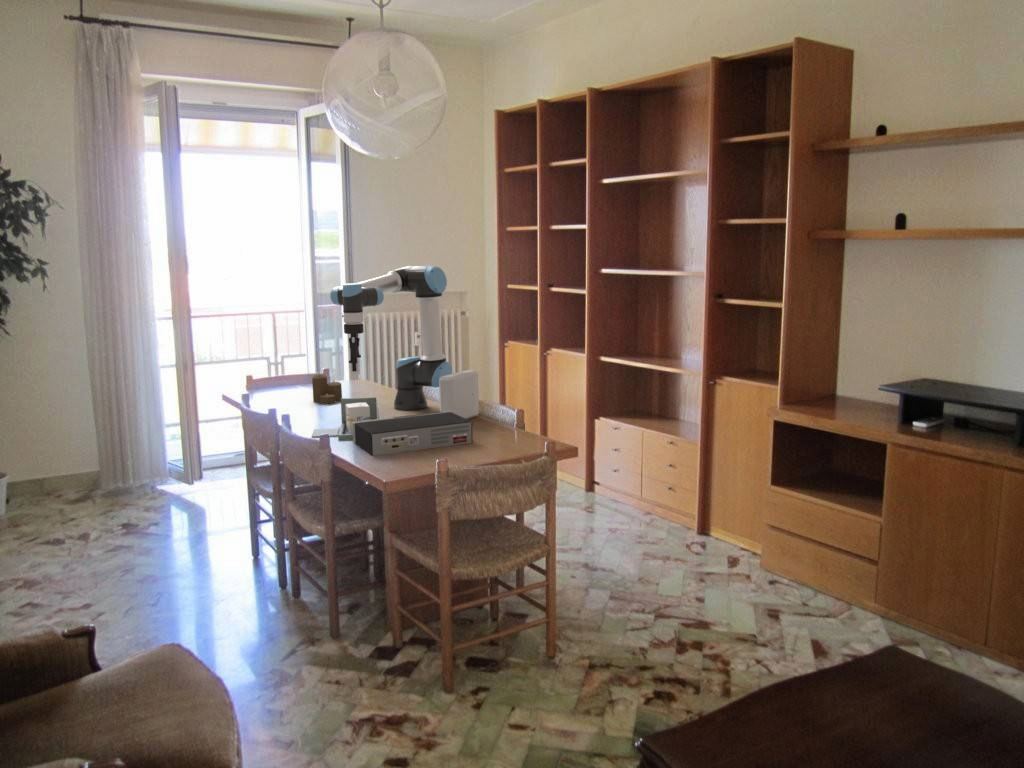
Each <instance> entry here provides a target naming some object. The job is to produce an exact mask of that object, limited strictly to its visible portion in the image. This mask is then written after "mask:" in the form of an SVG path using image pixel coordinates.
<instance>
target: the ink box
mask: <svg viewBox="0 0 1024 768" xmlns="http://www.w3.org/2000/svg"><path fill="white" fill-rule="evenodd" d="M345 406H346V427H347V428H346V434H353V422H356V421H365V420H370V407H369V406H368V404H367V403H366V402H365V403H352V404H345Z"/></svg>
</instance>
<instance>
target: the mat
mask: <svg viewBox="0 0 1024 768" xmlns="http://www.w3.org/2000/svg"><path fill="white" fill-rule="evenodd" d="M339 431H340V428H338V427H337V428H336V427H334V428H317V429H316V428H314V429H313V432H312V433H311V438H320V437H319V436H320V435H321V434H323V433H328V434H329V435H330V437H329V438H332V437H333V438H335V437H337V438H338V434H339Z"/></svg>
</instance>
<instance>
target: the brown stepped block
mask: <svg viewBox="0 0 1024 768" xmlns="http://www.w3.org/2000/svg"><path fill="white" fill-rule="evenodd" d="M311 380H312V381H311V383H312V399H313V403H319V402H320V403H319V404H320V405H326V404H328V405H333V403H334V404H336V402H335V401H337V402H341V399H342V398H343V394H342V393H343V391H342V389H343V388H342V383H341V382H340V381H335V379H333V380H332V381H330V382H328V376H327V375H326V374H325V373H321V371H320V370H318V372H317V373H316V374H315V373H314V375H313V376H312V379H311Z"/></svg>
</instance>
